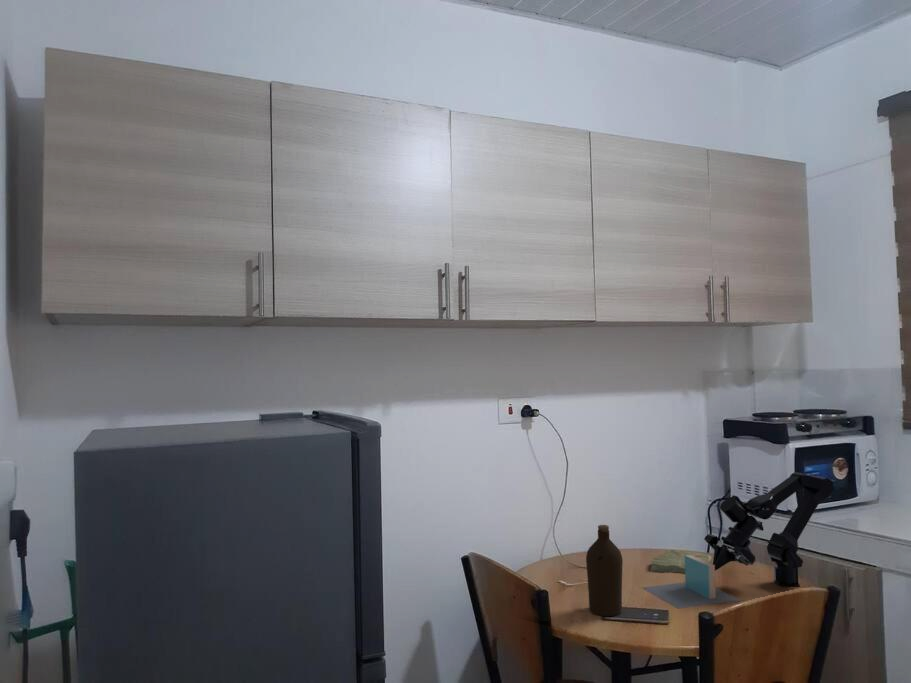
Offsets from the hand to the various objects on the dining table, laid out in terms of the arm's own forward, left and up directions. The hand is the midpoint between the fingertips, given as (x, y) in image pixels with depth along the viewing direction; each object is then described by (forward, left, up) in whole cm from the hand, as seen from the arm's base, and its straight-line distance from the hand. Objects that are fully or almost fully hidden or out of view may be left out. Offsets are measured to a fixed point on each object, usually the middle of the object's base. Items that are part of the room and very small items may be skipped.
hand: (713, 569), depth 217 cm
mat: (+8, +4, -7) cm, 12 cm away
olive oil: (+34, +23, -7) cm, 41 cm away
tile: (+5, +3, -7) cm, 8 cm away
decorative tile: (+8, -27, -8) cm, 30 cm away
